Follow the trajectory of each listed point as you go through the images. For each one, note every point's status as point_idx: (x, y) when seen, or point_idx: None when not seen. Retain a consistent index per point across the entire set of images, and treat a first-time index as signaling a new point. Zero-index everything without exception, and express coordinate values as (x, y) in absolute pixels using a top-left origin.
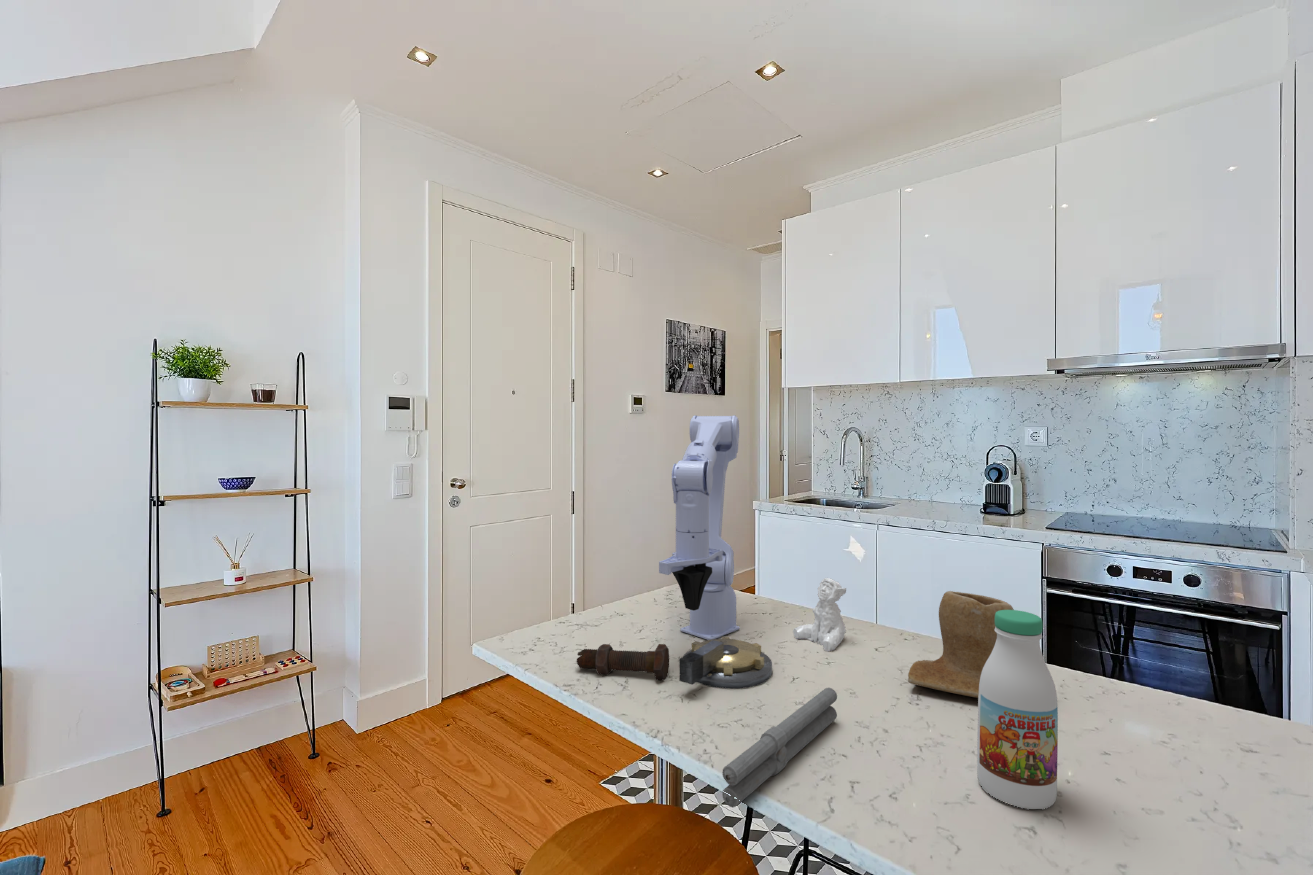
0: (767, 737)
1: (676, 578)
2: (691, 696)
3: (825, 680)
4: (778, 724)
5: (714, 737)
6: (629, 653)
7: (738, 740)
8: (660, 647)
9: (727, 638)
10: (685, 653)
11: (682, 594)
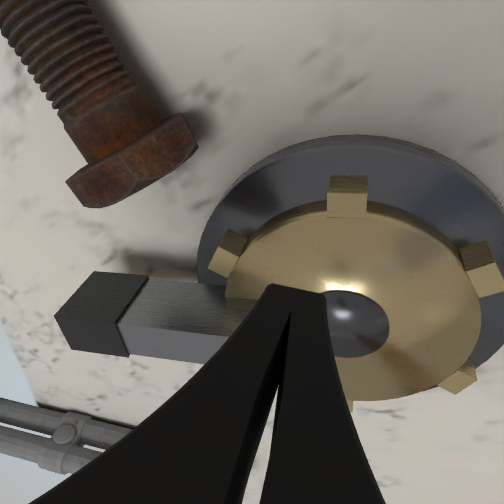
0: (36, 461)
1: (81, 478)
2: (138, 269)
3: (415, 455)
4: (79, 465)
5: (69, 351)
6: (17, 44)
7: (94, 377)
8: (99, 183)
9: (479, 289)
10: (313, 153)
11: (221, 349)
